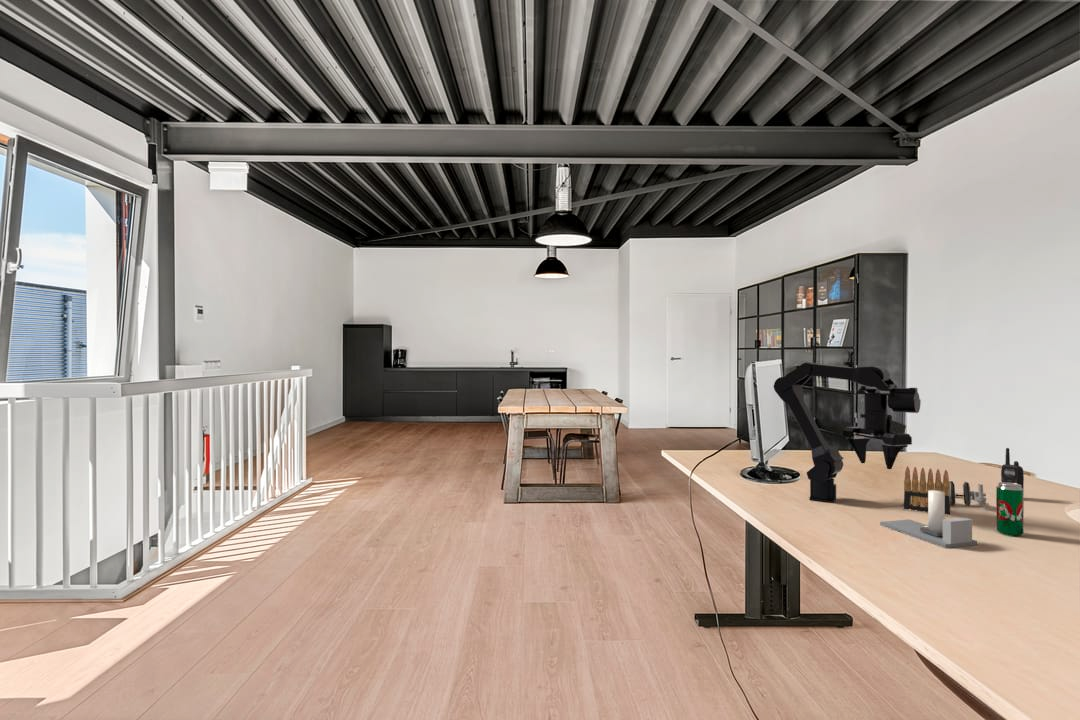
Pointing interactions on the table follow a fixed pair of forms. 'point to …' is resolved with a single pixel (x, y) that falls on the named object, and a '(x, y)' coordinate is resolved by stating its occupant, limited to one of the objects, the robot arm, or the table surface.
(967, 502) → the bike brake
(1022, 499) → the soda can
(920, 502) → the ammunition clip
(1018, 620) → the table surface
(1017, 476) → the two-way radio
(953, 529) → the gauge board
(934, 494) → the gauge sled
